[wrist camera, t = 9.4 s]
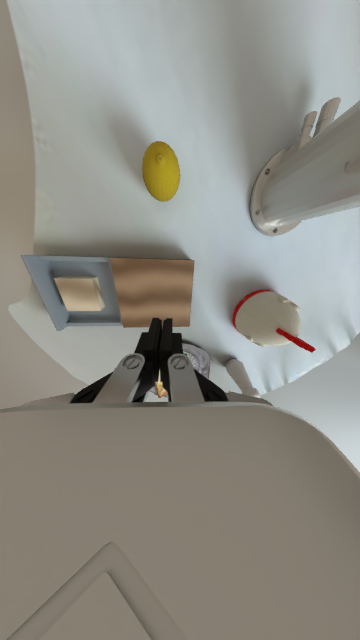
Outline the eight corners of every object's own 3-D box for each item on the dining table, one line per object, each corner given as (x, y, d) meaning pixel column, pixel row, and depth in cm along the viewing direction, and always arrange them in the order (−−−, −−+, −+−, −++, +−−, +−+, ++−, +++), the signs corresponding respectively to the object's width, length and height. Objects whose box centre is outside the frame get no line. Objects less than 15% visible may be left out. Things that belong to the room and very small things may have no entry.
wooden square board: (117, 257, 27) (109, 257, 24) (191, 259, 29) (194, 260, 25) (128, 319, 34) (123, 327, 31) (187, 319, 36) (189, 326, 32)
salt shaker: (239, 354, 44) (265, 390, 32) (240, 365, 46) (265, 402, 35) (222, 359, 44) (242, 397, 32) (225, 370, 47) (244, 408, 35)
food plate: (205, 389, 51) (208, 398, 47) (146, 394, 49) (144, 404, 46) (210, 336, 40) (214, 343, 37) (135, 341, 38) (131, 348, 35)
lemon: (144, 166, 21) (132, 123, 14) (177, 165, 22) (181, 122, 15) (149, 208, 24) (142, 189, 17) (178, 207, 24) (183, 187, 17)
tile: (91, 278, 26) (97, 276, 28) (53, 278, 25) (63, 276, 27) (100, 310, 29) (105, 306, 31) (67, 311, 28) (74, 306, 30)
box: (45, 255, 26) (20, 255, 22) (117, 257, 27) (107, 258, 23) (71, 320, 33) (56, 330, 28) (128, 319, 34) (122, 329, 30)
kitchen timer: (257, 339, 41) (299, 380, 28) (223, 324, 37) (253, 363, 24) (290, 302, 36) (362, 330, 23) (255, 280, 32) (316, 299, 19)
